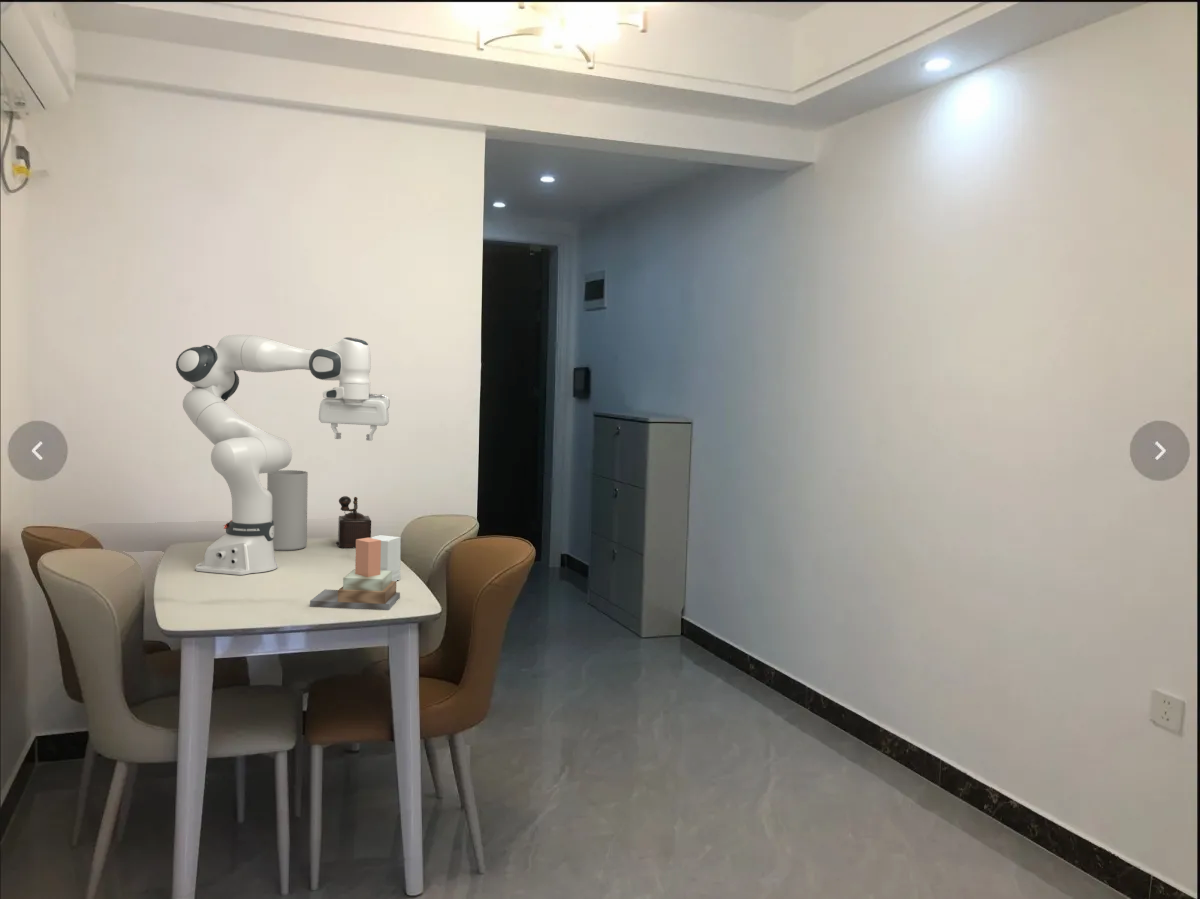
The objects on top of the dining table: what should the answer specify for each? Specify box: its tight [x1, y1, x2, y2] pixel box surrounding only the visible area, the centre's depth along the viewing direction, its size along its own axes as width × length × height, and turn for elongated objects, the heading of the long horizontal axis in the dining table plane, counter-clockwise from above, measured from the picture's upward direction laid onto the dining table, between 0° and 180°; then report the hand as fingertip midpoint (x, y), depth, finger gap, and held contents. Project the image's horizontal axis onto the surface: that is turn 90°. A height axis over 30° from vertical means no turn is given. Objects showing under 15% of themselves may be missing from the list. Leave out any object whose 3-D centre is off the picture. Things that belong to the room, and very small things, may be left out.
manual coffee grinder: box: [336, 495, 372, 549], centre depth 305 cm, size 16×11×18 cm
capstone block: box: [354, 538, 381, 577], centre depth 234 cm, size 4×5×9 cm
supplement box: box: [371, 534, 402, 582], centre depth 258 cm, size 7×7×13 cm
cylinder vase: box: [266, 469, 309, 552], centre depth 299 cm, size 12×12×25 cm
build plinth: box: [309, 569, 401, 611], centre depth 235 cm, size 20×12×8 cm, turn 89°
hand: (353, 439), depth 269 cm, fingers open, 8 cm apart
